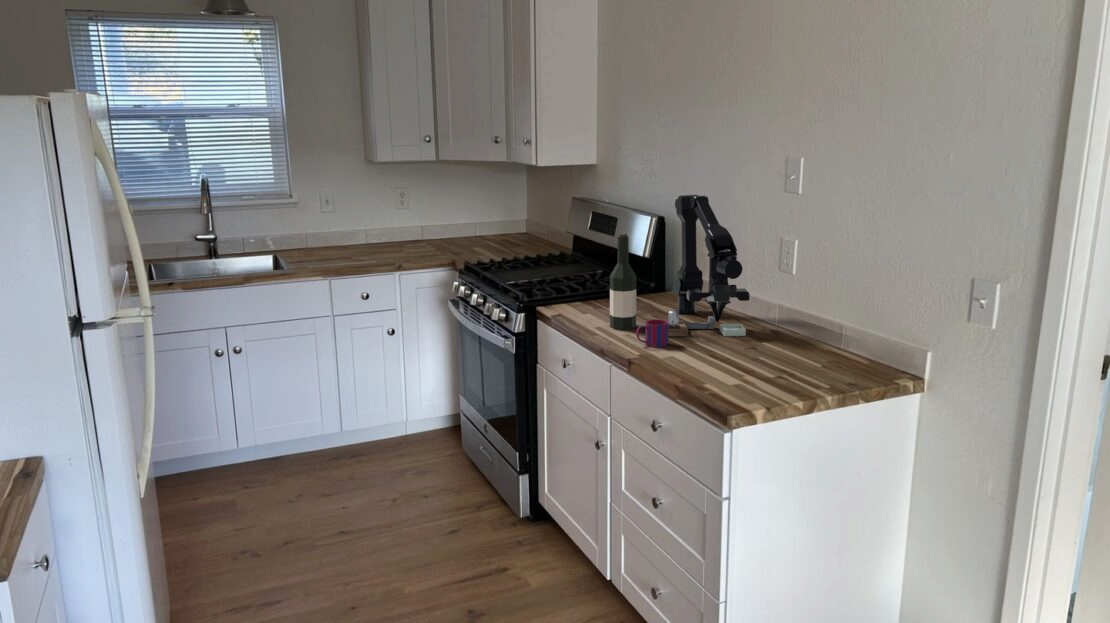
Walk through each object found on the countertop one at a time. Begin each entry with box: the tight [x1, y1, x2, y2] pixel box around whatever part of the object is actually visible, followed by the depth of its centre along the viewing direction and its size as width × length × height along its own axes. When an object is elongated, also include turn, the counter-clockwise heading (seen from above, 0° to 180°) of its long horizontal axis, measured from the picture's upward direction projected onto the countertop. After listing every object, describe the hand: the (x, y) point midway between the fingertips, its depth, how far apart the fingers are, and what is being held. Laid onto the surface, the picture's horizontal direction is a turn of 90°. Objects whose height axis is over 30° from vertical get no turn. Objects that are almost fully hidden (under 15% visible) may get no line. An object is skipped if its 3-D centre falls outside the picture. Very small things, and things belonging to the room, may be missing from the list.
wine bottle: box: [609, 232, 637, 331], centre depth 257 cm, size 8×8×30 cm
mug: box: [635, 318, 669, 348], centre depth 240 cm, size 7×10×7 cm
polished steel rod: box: [667, 309, 680, 329], centre depth 252 cm, size 3×3×7 cm
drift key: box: [679, 315, 715, 330], centre depth 257 cm, size 3×12×3 cm, turn 89°
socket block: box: [668, 320, 689, 337], centre depth 254 cm, size 11×8×2 cm
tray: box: [719, 323, 747, 337], centre depth 251 cm, size 7×7×2 cm
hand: (717, 321), depth 257 cm, fingers closed
